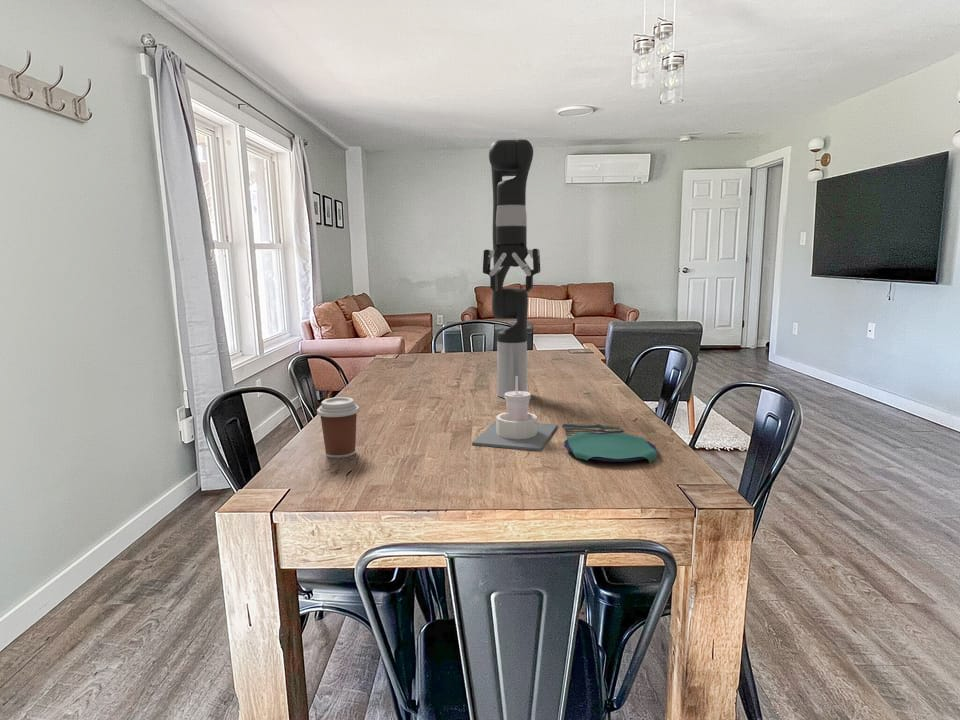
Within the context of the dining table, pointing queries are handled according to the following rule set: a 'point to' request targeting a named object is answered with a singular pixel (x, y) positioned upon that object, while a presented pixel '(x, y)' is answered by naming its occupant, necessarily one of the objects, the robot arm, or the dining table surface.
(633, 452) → the cutlery set
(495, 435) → the sleeve stand
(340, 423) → the coffee cup
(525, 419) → the smoothie
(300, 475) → the dining table surface
